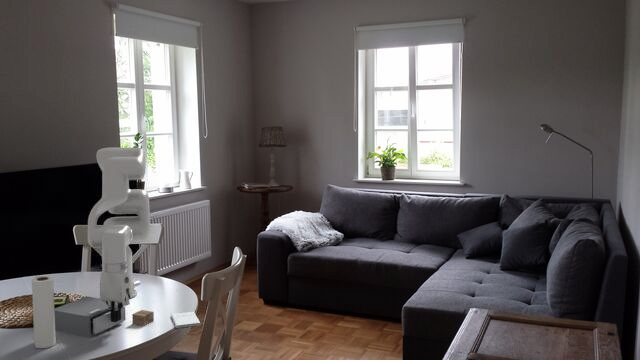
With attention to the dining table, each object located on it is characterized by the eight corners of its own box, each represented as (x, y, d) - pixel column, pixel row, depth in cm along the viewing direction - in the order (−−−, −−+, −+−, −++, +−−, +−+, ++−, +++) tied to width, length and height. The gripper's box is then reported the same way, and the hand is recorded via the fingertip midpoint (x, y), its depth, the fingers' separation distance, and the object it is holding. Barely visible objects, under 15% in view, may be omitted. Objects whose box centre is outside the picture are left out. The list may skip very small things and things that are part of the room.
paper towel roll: (53, 348, 182) (50, 280, 180) (32, 349, 181) (29, 281, 179) (58, 339, 189) (56, 274, 187) (38, 340, 188) (35, 275, 186)
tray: (87, 313, 211) (87, 300, 210) (125, 320, 204) (125, 306, 204) (56, 326, 198) (56, 312, 197) (96, 333, 191) (95, 319, 191)
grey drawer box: (87, 315, 212) (86, 295, 211) (123, 321, 206) (122, 301, 205) (51, 330, 197) (51, 309, 197) (89, 337, 191) (88, 315, 191)
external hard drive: (176, 330, 201) (171, 318, 212) (200, 327, 204) (194, 315, 215) (176, 325, 200) (171, 313, 212) (200, 322, 203) (194, 311, 215)
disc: (109, 319, 203) (109, 314, 203) (95, 326, 196) (94, 321, 196) (93, 316, 205) (93, 311, 205) (78, 323, 199) (78, 318, 198)
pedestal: (142, 319, 208) (141, 309, 208) (153, 321, 207) (153, 311, 206) (132, 324, 204) (132, 314, 204) (144, 326, 202) (144, 316, 202)
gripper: (140, 266, 196) (141, 320, 198) (104, 262, 201) (106, 314, 203) (125, 272, 189) (126, 327, 191) (88, 267, 194) (90, 321, 196)
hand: (116, 320), depth 197 cm, fingers closed
